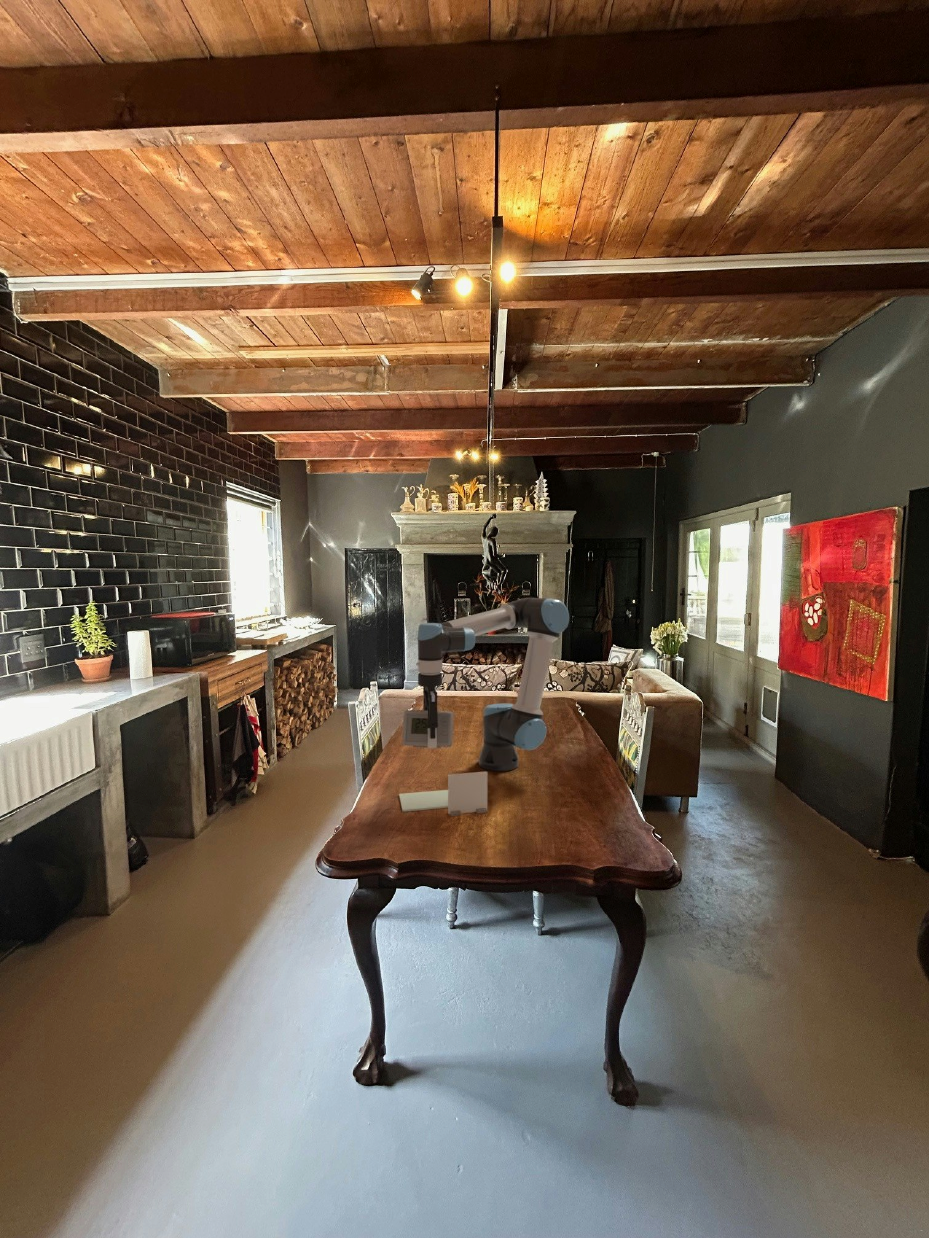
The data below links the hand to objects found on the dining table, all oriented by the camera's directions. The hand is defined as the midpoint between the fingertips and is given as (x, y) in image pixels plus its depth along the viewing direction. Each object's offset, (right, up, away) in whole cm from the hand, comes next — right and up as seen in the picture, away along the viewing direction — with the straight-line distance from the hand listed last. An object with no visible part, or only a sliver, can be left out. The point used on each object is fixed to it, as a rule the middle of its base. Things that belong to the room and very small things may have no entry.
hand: (430, 743), depth 169 cm
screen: (+12, -20, -6) cm, 24 cm away
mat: (0, -19, +2) cm, 19 cm away
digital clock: (-1, -1, -1) cm, 1 cm away
